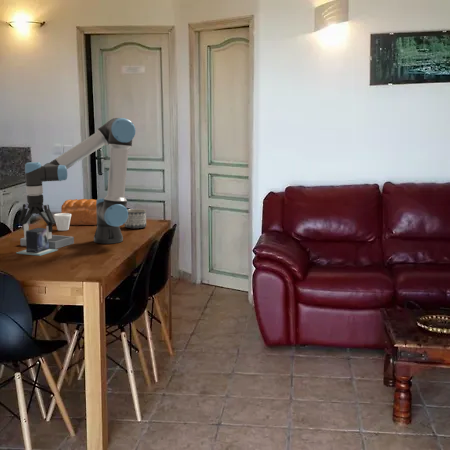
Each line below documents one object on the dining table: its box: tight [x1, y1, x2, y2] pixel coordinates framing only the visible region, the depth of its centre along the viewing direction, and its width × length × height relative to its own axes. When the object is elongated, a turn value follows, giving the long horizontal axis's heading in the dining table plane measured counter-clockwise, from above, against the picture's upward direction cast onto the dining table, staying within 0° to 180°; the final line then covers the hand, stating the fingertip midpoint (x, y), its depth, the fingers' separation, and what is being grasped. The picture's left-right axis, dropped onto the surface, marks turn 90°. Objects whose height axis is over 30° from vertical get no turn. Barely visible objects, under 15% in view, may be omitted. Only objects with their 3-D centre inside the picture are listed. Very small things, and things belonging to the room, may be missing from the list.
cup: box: [53, 212, 71, 232], centre depth 380 cm, size 10×10×9 cm
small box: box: [25, 227, 50, 253], centre depth 320 cm, size 11×6×10 cm, turn 163°
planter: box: [124, 208, 147, 230], centre depth 389 cm, size 13×13×10 cm
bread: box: [60, 198, 97, 226], centre depth 402 cm, size 14×26×16 cm, turn 91°
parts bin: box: [19, 234, 75, 249], centre depth 339 cm, size 22×16×4 cm
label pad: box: [16, 248, 59, 257], centre depth 321 cm, size 14×14×1 cm
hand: (38, 237), depth 320 cm, fingers open, 13 cm apart
